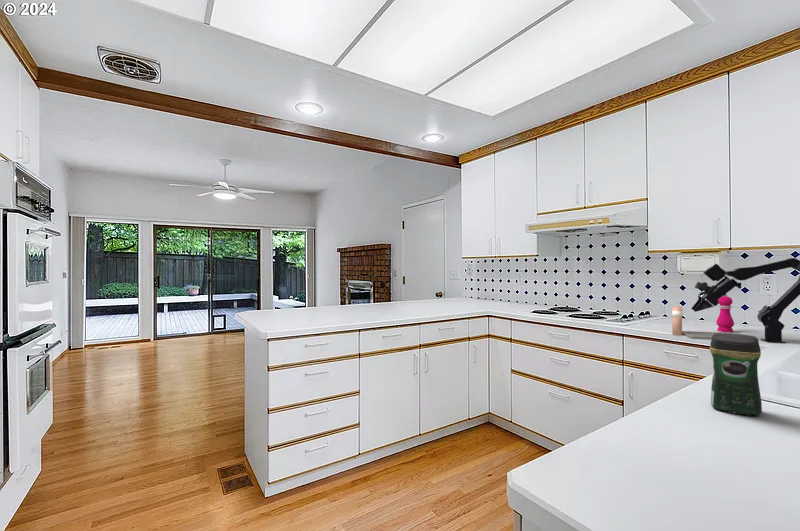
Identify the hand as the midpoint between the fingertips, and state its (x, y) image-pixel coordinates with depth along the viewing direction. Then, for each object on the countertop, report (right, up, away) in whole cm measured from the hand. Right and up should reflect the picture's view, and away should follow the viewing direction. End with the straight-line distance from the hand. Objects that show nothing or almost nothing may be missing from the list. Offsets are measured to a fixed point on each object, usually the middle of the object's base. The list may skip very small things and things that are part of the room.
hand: (693, 310), depth 197 cm
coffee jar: (-62, -13, -99) cm, 118 cm away
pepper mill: (+26, -13, +12) cm, 31 cm away
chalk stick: (-6, -13, +3) cm, 14 cm away
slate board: (+5, -13, -2) cm, 14 cm away
